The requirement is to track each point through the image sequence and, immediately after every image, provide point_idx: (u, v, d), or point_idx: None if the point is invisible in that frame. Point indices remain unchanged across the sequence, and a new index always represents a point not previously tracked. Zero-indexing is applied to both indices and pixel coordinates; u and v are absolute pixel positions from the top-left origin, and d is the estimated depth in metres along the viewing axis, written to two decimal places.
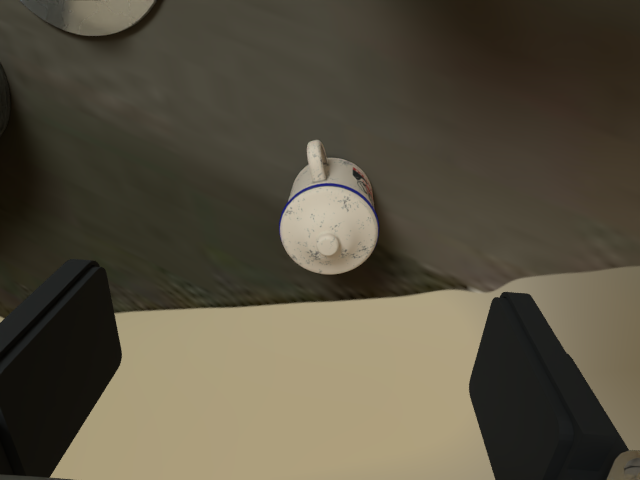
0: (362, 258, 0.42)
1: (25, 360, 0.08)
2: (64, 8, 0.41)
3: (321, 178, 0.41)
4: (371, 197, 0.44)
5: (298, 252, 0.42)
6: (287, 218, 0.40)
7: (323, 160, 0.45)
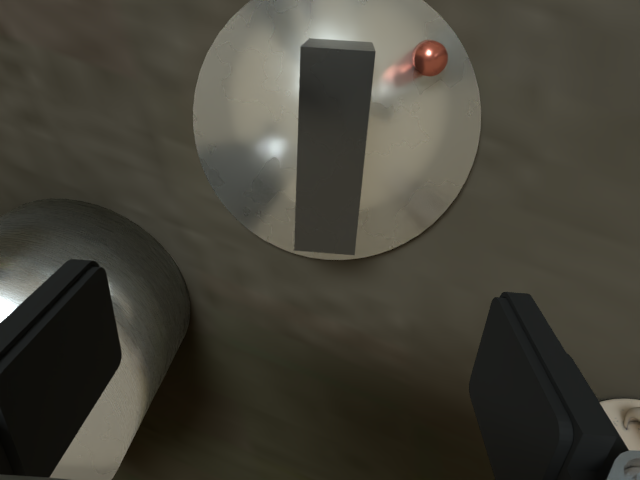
0: None
1: (25, 359, 0.08)
2: None
3: None
4: None
5: None
6: None
7: (635, 418, 0.32)
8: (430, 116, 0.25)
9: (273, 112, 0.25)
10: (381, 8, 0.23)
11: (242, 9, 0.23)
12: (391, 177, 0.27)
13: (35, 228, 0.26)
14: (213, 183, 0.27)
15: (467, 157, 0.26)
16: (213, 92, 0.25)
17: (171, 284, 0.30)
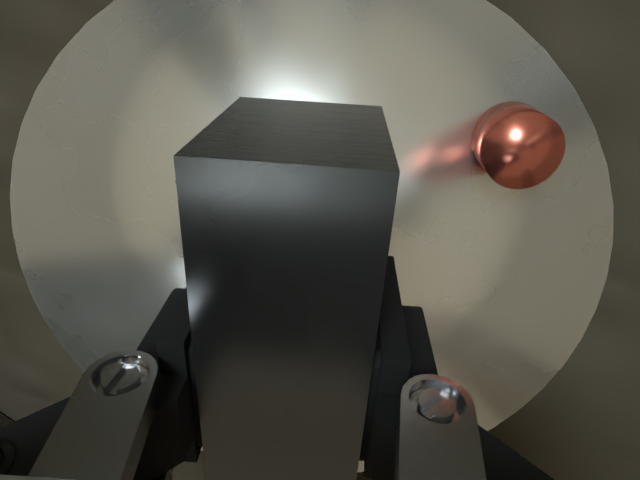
0: None
1: None
2: None
3: None
4: None
5: None
6: None
7: None
8: (503, 252, 0.12)
9: (176, 241, 0.12)
10: (404, 31, 0.10)
11: (82, 33, 0.10)
12: None
13: None
14: (76, 357, 0.14)
15: (572, 326, 0.13)
16: (48, 203, 0.12)
17: None
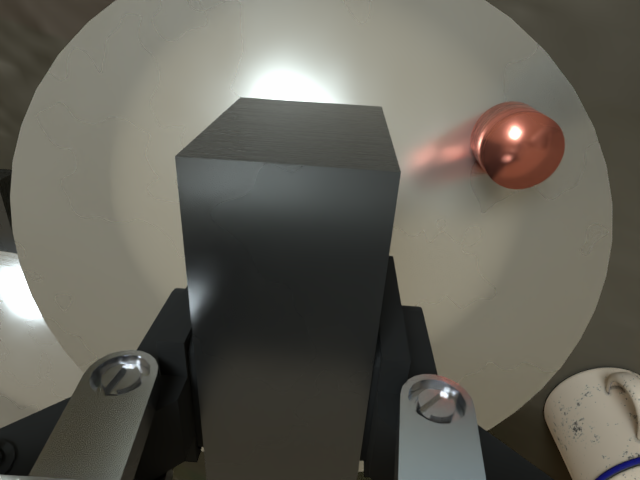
0: None
1: None
2: None
3: None
4: None
5: None
6: None
7: (616, 383, 0.34)
8: (502, 252, 0.12)
9: (176, 241, 0.12)
10: (404, 31, 0.10)
11: (82, 33, 0.10)
12: None
13: None
14: (76, 357, 0.14)
15: (571, 326, 0.13)
16: (48, 203, 0.12)
17: None
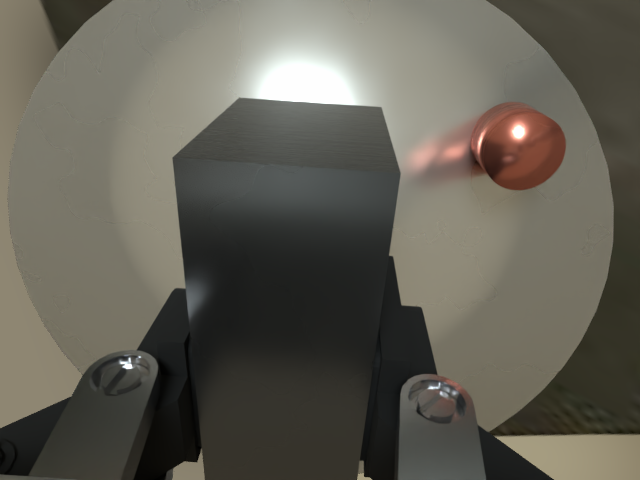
0: None
1: None
2: None
3: None
4: None
5: None
6: None
7: None
8: (502, 254, 0.12)
9: (175, 242, 0.12)
10: (404, 31, 0.09)
11: (80, 33, 0.10)
12: None
13: None
14: (75, 359, 0.14)
15: (572, 327, 0.13)
16: (46, 204, 0.12)
17: None
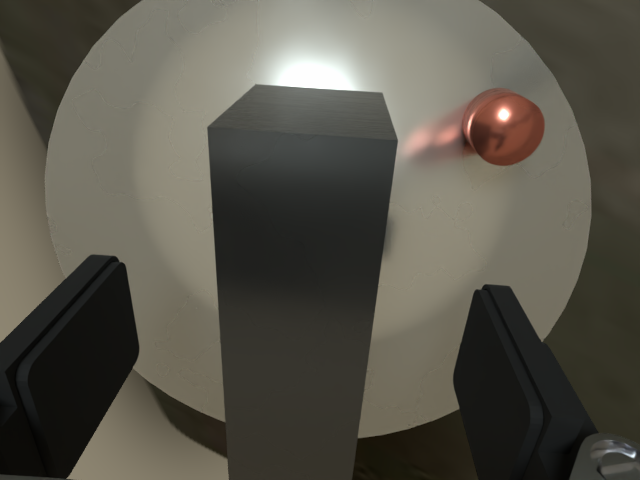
0: None
1: (54, 351, 0.08)
2: None
3: None
4: None
5: None
6: None
7: None
8: (491, 226, 0.13)
9: (195, 217, 0.13)
10: (402, 25, 0.11)
11: (115, 26, 0.11)
12: (414, 324, 0.15)
13: None
14: None
15: (556, 296, 0.14)
16: (79, 182, 0.13)
17: None
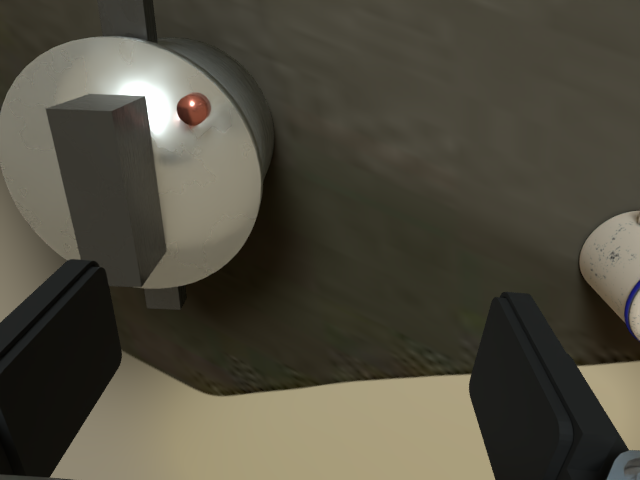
0: None
1: (24, 360, 0.08)
2: None
3: None
4: None
5: None
6: None
7: None
8: (212, 157, 0.27)
9: None
10: (146, 66, 0.25)
11: (24, 70, 0.26)
12: (190, 212, 0.29)
13: (167, 41, 0.32)
14: (31, 223, 0.30)
15: (253, 193, 0.28)
16: (14, 142, 0.27)
17: (265, 108, 0.36)
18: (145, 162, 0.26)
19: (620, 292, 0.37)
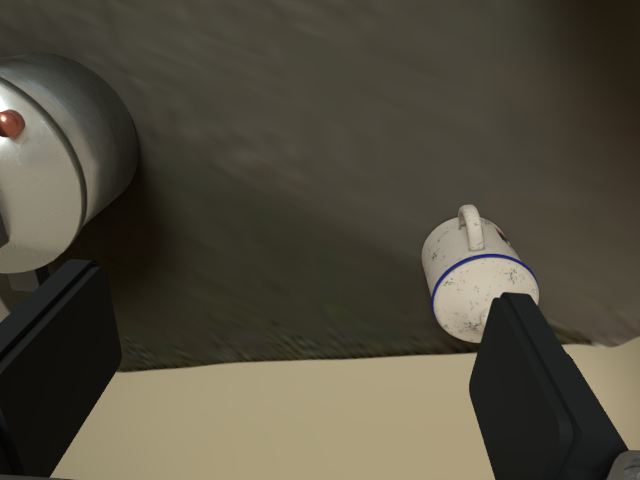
0: None
1: (25, 360, 0.08)
2: None
3: (480, 247, 0.39)
4: None
5: (452, 322, 0.40)
6: (446, 289, 0.39)
7: None
8: (33, 164, 0.32)
9: None
10: None
11: None
12: (23, 209, 0.34)
13: (20, 58, 0.37)
14: None
15: (72, 194, 0.33)
16: None
17: (121, 117, 0.41)
18: None
19: (432, 288, 0.41)
